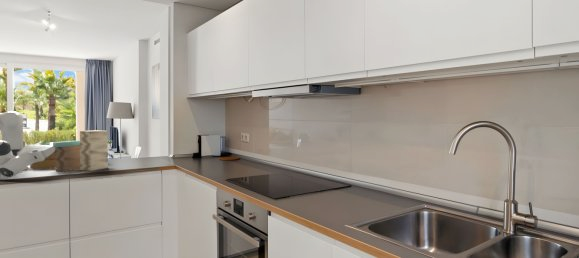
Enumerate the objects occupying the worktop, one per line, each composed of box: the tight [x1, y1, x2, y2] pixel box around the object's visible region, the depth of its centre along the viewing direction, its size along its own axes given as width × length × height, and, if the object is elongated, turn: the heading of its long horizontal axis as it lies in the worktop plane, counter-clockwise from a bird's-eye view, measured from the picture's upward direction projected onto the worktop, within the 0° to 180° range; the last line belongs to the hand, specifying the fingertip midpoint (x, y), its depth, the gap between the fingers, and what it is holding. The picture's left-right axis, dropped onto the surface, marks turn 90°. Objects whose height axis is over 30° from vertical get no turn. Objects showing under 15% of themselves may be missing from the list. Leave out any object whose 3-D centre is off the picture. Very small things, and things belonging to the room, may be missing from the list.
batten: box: [44, 140, 80, 148], centre depth 222 cm, size 3×24×3 cm, turn 165°
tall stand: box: [79, 129, 109, 171], centre depth 230 cm, size 9×14×26 cm, turn 166°
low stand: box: [54, 145, 80, 172], centre depth 227 cm, size 8×14×16 cm, turn 166°
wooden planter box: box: [29, 151, 56, 170], centre depth 242 cm, size 25×25×11 cm
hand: (48, 142), depth 211 cm, fingers open, 8 cm apart
